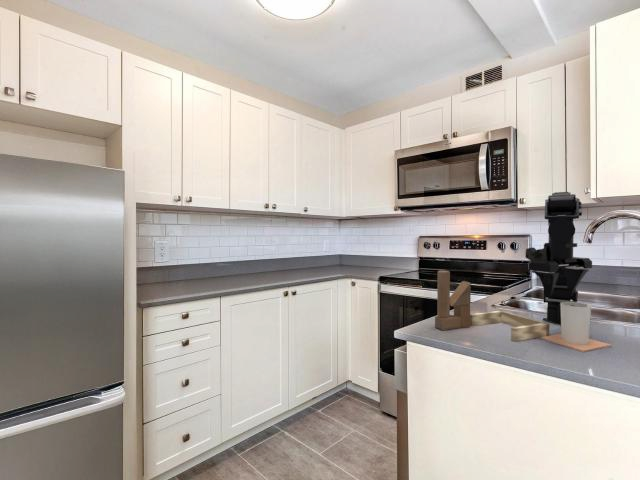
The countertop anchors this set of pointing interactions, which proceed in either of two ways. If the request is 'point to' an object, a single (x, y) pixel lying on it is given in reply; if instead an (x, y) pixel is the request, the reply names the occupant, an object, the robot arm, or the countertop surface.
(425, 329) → the countertop surface
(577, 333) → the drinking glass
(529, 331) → the beige angled bar
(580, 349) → the terracotta mat
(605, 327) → the countertop surface
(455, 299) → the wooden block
